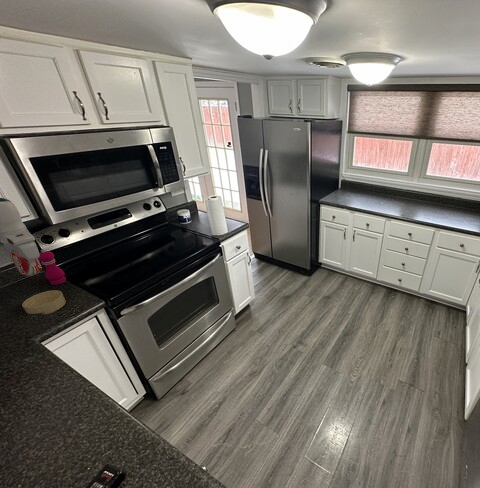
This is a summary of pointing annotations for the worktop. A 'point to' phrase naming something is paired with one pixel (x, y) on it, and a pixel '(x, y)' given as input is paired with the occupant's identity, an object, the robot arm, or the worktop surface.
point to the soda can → (25, 264)
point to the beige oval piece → (44, 302)
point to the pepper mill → (51, 268)
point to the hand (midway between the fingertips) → (28, 263)
